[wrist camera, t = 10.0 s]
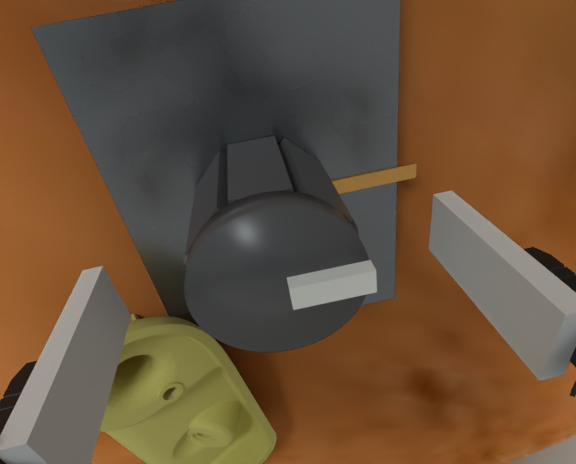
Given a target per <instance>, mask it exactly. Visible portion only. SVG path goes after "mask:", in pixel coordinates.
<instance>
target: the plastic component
mask: <svg viewBox="0 0 576 464" xmlns="http://www.w3.org/2000/svg"><path fill="white" fill-rule="evenodd" d="M99 432H106V433H107V434H109V435H110V436H111V437H113V438H114V439H115V440H116V441H118V442H119V443H120V444H122V445H123V446H124V447H126V448H127V449H128V450H130V451H131V452H132V453H134V454H135V455H136V456H138V457H139V458H140V459H141V460H143V461H144V462H145V463H147V464H263V463H264V461H265V460H266V459H267V458H268V457H269V455H270V454H271V452H272V451H273V449H274V447H275V444H276V440H277V436H276V433H275V431H274V430H273V428H272V426H271V425H270V423H269V422H268V420H267V418H266V417H265V415H264V413H263V412H262V410H261V408H260V407H259V405H258V403H257V402H256V400H255V399H254V397H253V395H252V394H251V392H250V390H249V389H248V387H247V385H246V384H245V382H244V381H243V379H242V377H241V376H240V374H239V372H238V371H237V369H236V367H235V366H234V364H233V363H232V361H231V360H230V358H229V357H228V355H227V354H226V352H225V351H224V350H223V348H222V347H221V345H220V344H219V343H218V342H217V341H216V340H215V339H214V338H213V337H212V336H210V335H209V334H208V333H206V332H205V331H204V330H203V329H202V328H200V327H199V326H197V325H195V324H193V323H191V322H189V321H187V320H184V319H181V318H177V317H171V316H154V317H147V318H142V319H140V318H139V316H138V315H136V314H134V313H132V314H131V319H130V322H129V326H128V329H127V333H126V337H125V340H124V344H123V348H122V351H121V355H120V359H119V362H118V366H117V369H116V373H115V377H114V380H113V384H112V388H111V391H110V395H109V399H108V402H107V406H106V409H105V413H104V417H103V420H102V424H101V428H100V431H99Z"/></svg>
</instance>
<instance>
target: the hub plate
mask: <svg viewBox="0 0 576 464" xmlns="http://www.w3.org/2000/svg"><path fill="white" fill-rule="evenodd" d="M31 29H32V31H33V33H34V36H35V38H36V40H37V42H38V44H39V46H40V48H41V50H42V52H43V54H44V56H45V58H46V61H47V63H48V65H49V67H50V69H51V71H52V73H53V75H54V77H55V79H56V81H57V83H58V86H59V88H60V90H61V92H62V94H63V96H64V98H65V100H66V102H67V104H68V106H69V108H70V111H71V113H72V115H73V117H74V119H75V121H76V123H77V125H78V127H79V129H80V131H81V133H82V136H83V138H84V140H85V142H86V144H87V146H88V148H89V150H90V152H91V154H92V156H93V158H94V161H95V163H96V165H97V167H98V169H99V171H100V173H101V175H102V177H103V179H104V181H105V183H106V186H107V188H108V190H109V192H110V194H111V196H112V198H113V200H114V202H115V204H116V206H117V208H118V211H119V213H120V215H121V217H122V219H123V221H124V223H125V225H126V227H127V229H128V231H129V233H130V236H131V238H132V240H133V242H134V244H135V246H136V248H137V250H138V252H139V254H140V256H141V258H142V261H143V263H144V265H145V267H146V269H147V271H148V273H149V275H150V277H151V279H152V281H153V283H154V286H155V288H156V290H157V292H158V294H159V296H160V298H161V300H162V302H163V304H164V306H165V308H166V311H167V313H168V315H169V316H171V317H177V318H181V319H184V320H187V321H189V322H191V323H193V324H195V325H197V326H199V325H198V324H197V322H196V321H195V320H194V319H193V317H192V315H191V313H190V311H189V309H188V307H187V304H186V300H185V294H184V281H185V274H186V269H185V267H184V258H185V249H186V243H187V237H188V231H189V225H190V219H191V213H192V207H193V200H194V194H195V188H196V186H197V184H198V183H199V181H200V179H201V178H202V176H203V175H204V173H205V172H206V170H207V168H208V167H209V165H210V164H211V162H212V161H213V159H214V158H215V156H216V154H217V153H218V151H219V150H220V151H222V152H223V153H225V154H227V145H229V144H234V143H239V142H244V141H249V140H254V139H259V138H264V137H269V136H274V135H275V138H276V141H277V144H278V145H279V144H280V142H281V141H282V140H283V138H286V139H287V140H289V141H290V142H292V143H293V144H295V145H296V146H298V147H299V148H301V149H302V150H304V151H305V152H306V153H308V154H309V155H311V156H312V157H314V158H315V159H317V160H318V161H320V162H321V164H322V166H323V168H324V169H325V171H326V172H327V174H328V176H329V178H330V179H331V181H332V183H333V185H334V186H335V188H336V190H337V192H338V193H339V195H340V197H341V199H342V201H343V202H344V204H345V206H346V208H347V209H348V211H349V213H350V215H351V216H352V218H353V220H354V222H355V223H356V225H357V227H358V236H359V238H360V240H361V242H362V243H363V245H364V247H365V249H366V251H367V254H368V257H369V260H371V262H372V263H373V265H374V267H375V269H376V276H377V292H376V293H371V294H366V297H365V299H364V301H363V302H362V304H361V306H362V305H366V304H371V303H375V302H379V301H384V300H388V299H392V298H395V253H396V200H397V182H398V181H402V180H407V179H412V178H416V167H417V163H412V164H408V165H403V166H398V167H397V147H398V94H399V41H400V0H180V1H174V2H169V3H163V4H158V5H152V6H147V7H141V8H136V9H130V10H125V11H119V12H114V13H108V14H103V15H97V16H92V17H86V18H81V19H75V20H70V21H64V22H59V23H53V24H48V25H42V26H37V27H31ZM199 327H200V326H199ZM200 328H201V327H200ZM214 339H215V338H214Z"/></svg>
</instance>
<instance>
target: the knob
mask: <svg viewBox="0 0 576 464" xmlns="http://www.w3.org/2000/svg"><path fill="white" fill-rule="evenodd" d="M184 267H185V269H186V274H185V281H184V294H185V300H186V304H187V307H188V309H189V311H190V313H191V315H192V317H193V319H194V320H195V321H196V322H197V324H198V325H199V326H200V327H201V328H202V329H203V330H204V331H205V332H206V333H208V334H209V335H210V336H212V337H213V338H215V339H217V340H218V341H220V342H222V343H224V344H227V345H229V346H232V347H235V348H239V349H243V350H248V351H255V352H280V351H287V350H293V349H297V348H301V347H304V346H307V345H310V344H313V343H315V342H317V341H320V340H322V339H324V338H326V337H327V336H329V335H331V334H332V333H334V332H335V331H337V330H338V329H339V328H341V327H342V326H343V325H344V324H345V323H347V322H348V321H349V320H350V319H351V317H352V316H353V315H354V314H355V313H356V312H357V310H358V309H359V307H360V306H361V304H362V302H363V301H364V299H365V297H366V294H371V293H376V292H377V276H376V269H375V267H374V265H373V263H372V262H371V260H369V257H368V254H367V251H366V249H365V247H364V245H363V243H362V242H361V240H360V238H359V236H358V227H357V225H356V223H355V222H354V220H353V218H352V216H351V215H350V213H349V211H348V209H347V208H346V206H345V204H344V202H343V201H342V199H341V197H340V195H339V193H338V192H337V190H336V188H335V186H334V185H333V183H332V181H331V179H330V178H329V176H328V174H327V172H326V171H325V169H324V168H323V166H322V164H321V162H320V161H318V160H317V159H315V158H314V157H312V156H311V155H309V154H308V153H306V152H305V151H304V150H302V149H301V148H299V147H298V146H296V145H295V144H293V143H292V142H290V141H289V140H287V139H286V138H283V140H282V141H281V142H280V144H279V145H278V144H277V141H276V138H275V135H274V136H269V137H264V138H259V139H254V140H249V141H244V142H239V143H234V144H229V145H227V154H225V153H223V152H222V151H220V150H219V151H218V153H217V154H216V156H215V158H214V159H213V161H212V162H211V164H210V165H209V167H208V168H207V170H206V172H205V173H204V175H203V176H202V178H201V179H200V181H199V183H198V184H197V186H196V188H195V194H194V200H193V207H192V213H191V219H190V225H189V231H188V237H187V243H186V249H185V258H184Z"/></svg>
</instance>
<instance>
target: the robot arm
mask: <svg viewBox="0 0 576 464" xmlns="http://www.w3.org/2000/svg"><path fill="white" fill-rule="evenodd" d="M429 250H430V251H431V253H432V254H433V255H434V256H435V257H436V258H437V260H438V261H439V262H440V263H441V264H442V266H443V267H444V268H445V269H446V270H447V272H448V273H449V274H450V275H451V276H452V278H453V279H454V280H455V281H456V282H457V284H458V285H459V286H460V287H461V288H462V290H463V291H464V292H465V293H466V294H467V295H468V297H469V298H470V299H471V300H472V301H473V303H474V304H475V305H476V306H477V307H478V309H479V310H480V311H481V312H482V313H483V315H484V316H485V317H486V318H487V319H488V321H489V322H490V323H491V324H492V325H493V326H494V328H495V329H496V330H497V331H498V332H499V334H500V335H501V336H502V337H503V338H504V340H505V341H506V342H507V343H508V344H509V346H510V347H511V348H512V349H513V350H514V352H515V353H516V354H517V355H518V356H519V358H520V359H521V360H522V361H523V362H524V363H525V365H526V366H527V367H528V368H529V369H530V371H531V372H532V373H533V374H534V375H535V377H536V378H537V379H538V380H539V381H542V380H546V379H550V378H554V377H558V376H563V375H565V372H566V370H567V368H568V366H569V364H570V362H571V363H572V364H573V365H574V366H575V367H576V275H575V273H574V272H572V271H571V270H570V269H569V268H567V267H564V265H563V264H562V263H561V262H559V261H558V260H557V259H556V258H554V257H553V256H552V255H550V254H548V253H546V252H543V251H541V250H539V249H537V248H534V247H531V248H527V249H522V248H521V247H520V246H519V245H517V244H516V243H515V242H514V241H512V240H511V239H510V238H509V237H508V236H506V235H505V234H504V233H503V232H502V231H500V230H499V229H498V228H497V227H496V226H494V225H493V224H492V223H491V222H489V221H488V220H487V219H486V218H485V217H483V216H482V215H481V214H480V213H479V212H477V211H476V210H475V209H474V208H472V207H471V206H470V205H469V204H468V203H466V202H465V201H464V200H463V199H462V198H460V197H459V196H458V195H457V194H455V193H454V192H453V191H452V190H451V191H446V192H442V193H437V194H433V204H432V216H431V228H430V240H429ZM130 319H131V315H130V313H129V311H128V309H127V308H126V306H125V304H124V302H123V301H122V299H121V297H120V295H119V293H118V292H117V290H116V288H115V286H114V285H113V283H112V281H111V279H110V277H109V276H108V274H107V272H106V270H105V269H104V267H103V266H100V267H96V268H91V269H86V270H83V271H82V273H81V275H80V277H79V279H78V281H77V283H76V285H75V287H74V289H73V291H72V293H71V295H70V297H69V299H68V301H67V303H66V305H65V307H64V309H63V311H62V313H61V315H60V317H59V319H58V321H57V323H56V325H55V327H54V329H53V331H52V333H51V335H50V337H49V339H48V341H47V343H46V345H45V347H44V349H43V351H42V353H41V355H40V357H39V359H38V361H34V362H30V363H26V364H25V366H24V367H23V368H22V369H21V370H20V371H19V372H18V373H17V374H16V375H15V377H14V378H13V379H12V380H11V382H10V384H9V386H8V388H7V390H6V391H5V393H4V395H3V397H4V398H3V399H1V401H0V464H91V460H92V457H93V453H94V449H95V446H96V442H97V439H98V435H99V431H100V428H101V424H102V420H103V417H104V413H105V409H106V406H107V402H108V399H109V395H110V391H111V388H112V384H113V380H114V377H115V373H116V369H117V366H118V362H119V359H120V355H121V351H122V348H123V344H124V340H125V337H126V333H127V329H128V326H129V322H130ZM575 395H576V381H575V383H574V386H573V388H572V390H571V393H570V396H573V397H575Z"/></svg>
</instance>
